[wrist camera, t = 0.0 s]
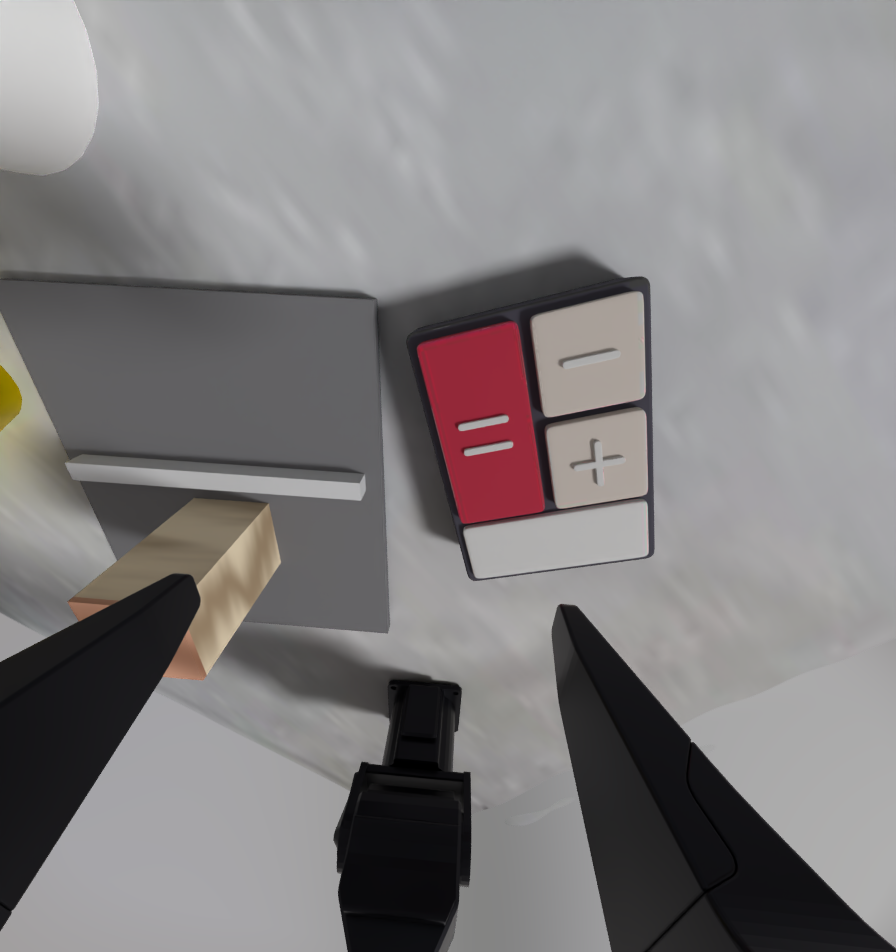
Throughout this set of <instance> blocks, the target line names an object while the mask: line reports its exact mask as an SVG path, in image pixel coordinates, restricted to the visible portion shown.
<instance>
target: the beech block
mask: <svg viewBox="0 0 896 952" xmlns="http://www.w3.org/2000/svg"><path fill="white" fill-rule="evenodd" d="M280 563H281V560H280V555H279V550H278V545H277V541H276V536H275V531H274V526H273V521H272V517H271V512H270V507H269V503H257V502H243V501H229V500H215V499H202V498H193V499H192V500H191V501H190V502H189V503H187V504H186V505H185V506H184V507H182V508H181V509H180V510H179V511H178V512H176V513H175V514H174V515H173V516H172V517H170V518H169V519H168V520H167V521H165V522H164V523H163V524H162V525H161V526H159V527H158V528H157V529H156V530H154V531H153V532H152V533H151V534H150V535H148V536H147V537H146V538H145V539H143V540H142V541H141V542H140V543H139V544H137V545H136V546H135V547H134V548H132V549H131V550H130V551H129V552H128V553H126V554H125V555H124V556H123V557H121V558H120V559H119V560H118V561H117V562H115V563H114V564H113V565H112V566H110V567H109V568H108V569H107V570H106V571H104V572H103V573H102V574H101V575H99V576H98V577H97V578H96V579H95V580H93V581H92V582H91V583H90V584H88V585H87V586H86V587H85V588H84V589H82V590H81V591H80V592H79V593H77V594H76V595H75V596H74V597H73V598H71V599H70V600H69V601H68V604H69V605H70V607H71V609H72V611H73V612H74V614H75V616H76V617H77V619H78V621H81V620H83V619H85V618H87V617H89V616H91V615H92V614H94V613H96V612H98V611H100V610H102V609H104V608H106V607H108V606H110V605H112V604H114V603H116V602H118V601H120V600H122V599H124V598H126V597H127V596H129V595H131V594H133V593H135V592H137V591H139V590H141V589H143V588H145V587H147V586H149V585H151V584H153V583H155V582H157V581H159V580H160V579H162V578H164V577H166V576H168V575H170V574H173V573H181V574H190V575H191V576H193V578H194V580H195V583H196V586H197V589H198V591H199V594H200V597H201V603H200V607H199V609H198V611H197V613H196V615H195V617H194V619H193V621H192V623H191V625H190V627H189V629H188V631H187V633H186V635H185V637H184V639H183V640H182V642H181V644H180V646H179V648H178V650H177V652H176V654H175V656H174V658H173V660H172V661H171V663H170V665H169V667H168V669H167V670H166V672H165V674H164V675H163V677H170V678H181V679H192V680H204V679H205V677H206V675H207V674H208V672H209V671H210V669H211V668H212V666H213V665H214V663H215V662H216V660H217V659H218V657H219V656H220V654H221V653H222V651H223V650H224V648H225V647H226V645H227V644H228V642H229V641H230V639H231V638H232V636H233V635H234V633H235V632H236V630H237V629H238V627H239V625H240V624H241V622H242V621H243V619H244V618H245V616H246V615H247V613H248V612H249V610H250V609H251V607H252V606H253V604H254V603H255V601H256V600H257V598H258V597H259V595H260V594H261V592H262V591H263V589H264V588H265V586H266V585H267V583H268V582H269V580H270V578H271V577H272V575H273V574H274V572H275V571H276V569H277V568H278V566H279V565H280Z"/></svg>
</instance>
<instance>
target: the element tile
mask: <svg viewBox="0 0 896 952" xmlns="http://www.w3.org/2000/svg"><path fill="white" fill-rule="evenodd" d="M21 405H22V397H21V394H20V391H19V388H18V386H17V385H16V383H15V382H14V380H13V379H12V377H11V376H10V375H9V374H8V373H7V372H6V371H5V369H4V368H3V367H2V366H1V365H0V431H1V430H2V429H3V428H4V427H5V426H6V425H7V424H8V423H9V422H11V421H12V420H13V419H14V418H15V417H16V416H17V415H18V414H19V412H20V410H21Z"/></svg>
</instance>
